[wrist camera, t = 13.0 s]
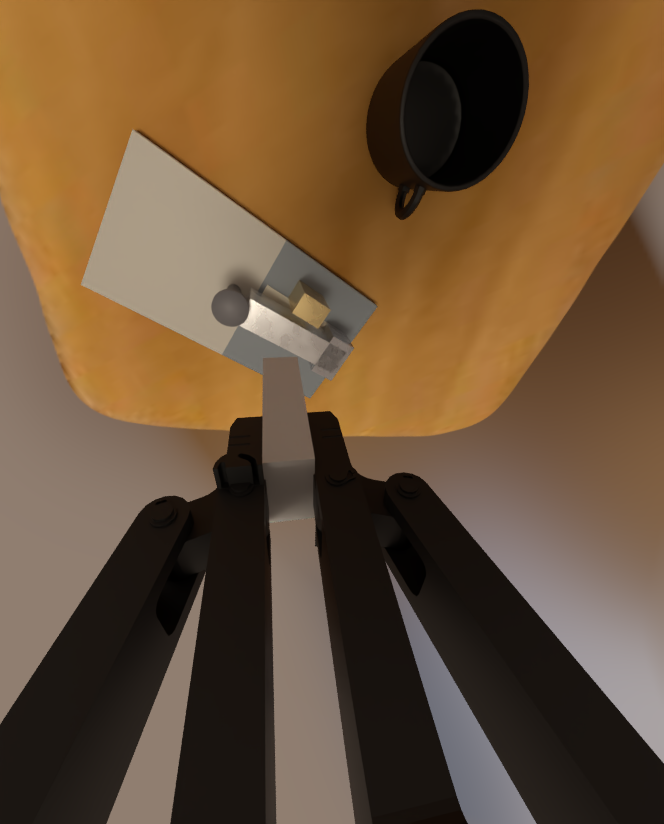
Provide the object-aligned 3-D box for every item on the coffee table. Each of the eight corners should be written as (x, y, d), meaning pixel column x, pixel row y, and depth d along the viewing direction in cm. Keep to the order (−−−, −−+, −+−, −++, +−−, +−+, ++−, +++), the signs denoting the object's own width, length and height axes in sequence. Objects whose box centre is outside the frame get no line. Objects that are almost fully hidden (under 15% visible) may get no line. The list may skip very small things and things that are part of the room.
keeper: (299, 279, 35) (304, 292, 31) (322, 295, 36) (330, 310, 32) (288, 297, 36) (292, 312, 32) (311, 312, 37) (318, 328, 33)
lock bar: (235, 317, 35) (233, 331, 32) (254, 280, 34) (254, 290, 30) (325, 364, 40) (331, 380, 37) (345, 333, 39) (354, 348, 35)
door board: (137, 131, 27) (105, 118, 22) (374, 303, 39) (394, 324, 33) (86, 281, 33) (49, 303, 27) (308, 393, 44) (316, 425, 39)
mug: (340, 197, 33) (365, 202, 25) (390, 27, 27) (441, -30, 19) (422, 230, 36) (465, 244, 28) (483, 85, 30) (557, 54, 23)
